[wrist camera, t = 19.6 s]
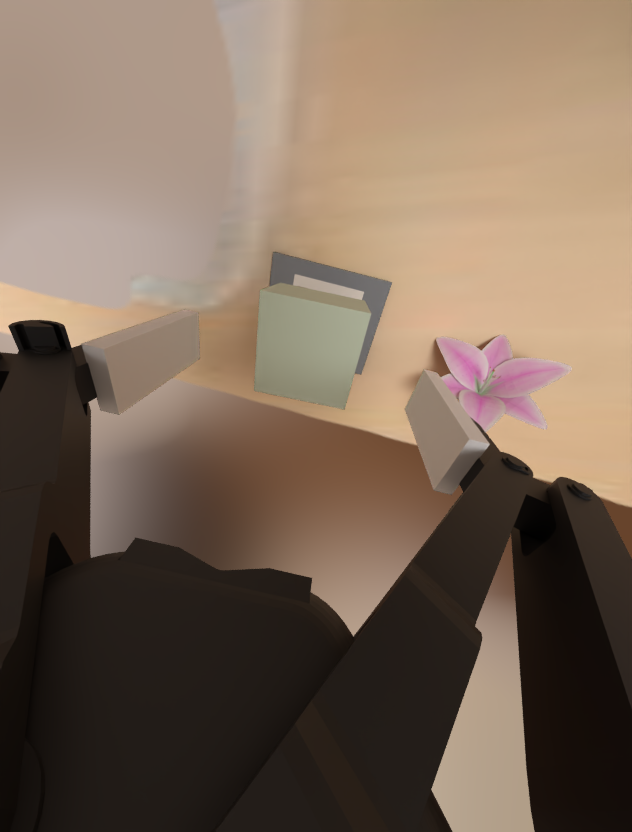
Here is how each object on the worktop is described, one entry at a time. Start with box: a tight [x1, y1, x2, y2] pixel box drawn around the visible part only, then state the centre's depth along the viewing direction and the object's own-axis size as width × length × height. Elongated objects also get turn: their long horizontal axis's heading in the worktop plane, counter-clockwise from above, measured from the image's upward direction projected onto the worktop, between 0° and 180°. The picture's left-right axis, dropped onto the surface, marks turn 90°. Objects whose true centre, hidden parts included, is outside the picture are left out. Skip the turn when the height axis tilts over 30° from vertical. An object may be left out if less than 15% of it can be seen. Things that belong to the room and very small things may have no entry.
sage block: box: [254, 283, 371, 410], centre depth 20 cm, size 7×7×6 cm
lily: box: [436, 335, 572, 433], centre depth 27 cm, size 12×12×10 cm
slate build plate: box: [269, 252, 392, 374], centre depth 28 cm, size 10×12×1 cm
